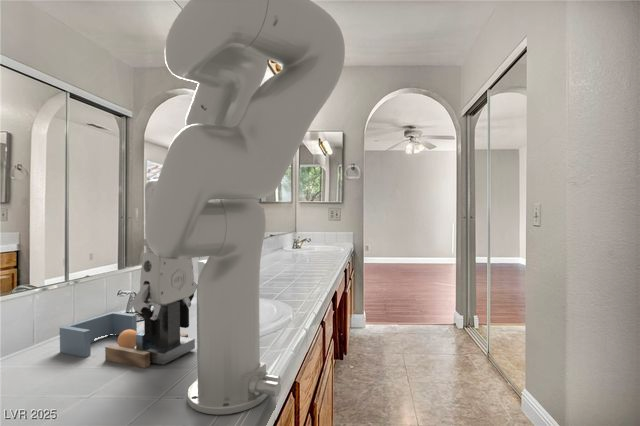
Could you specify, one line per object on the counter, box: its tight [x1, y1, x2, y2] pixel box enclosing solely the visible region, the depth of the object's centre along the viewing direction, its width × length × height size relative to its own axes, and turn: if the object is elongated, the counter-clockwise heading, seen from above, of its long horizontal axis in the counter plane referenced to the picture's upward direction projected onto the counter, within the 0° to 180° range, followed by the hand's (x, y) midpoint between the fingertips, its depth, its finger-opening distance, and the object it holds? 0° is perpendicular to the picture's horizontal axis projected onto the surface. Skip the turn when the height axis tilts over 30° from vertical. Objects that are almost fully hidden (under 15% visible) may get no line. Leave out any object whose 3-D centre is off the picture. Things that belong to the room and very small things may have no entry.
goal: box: [59, 311, 138, 358], centre depth 81 cm, size 7×12×5 cm, turn 158°
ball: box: [116, 329, 139, 349], centre depth 78 cm, size 4×4×4 cm
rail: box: [104, 332, 189, 369], centre depth 76 cm, size 10×11×2 cm
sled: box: [135, 302, 196, 365], centre depth 74 cm, size 8×8×10 cm
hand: (167, 332), depth 74 cm, fingers open, 7 cm apart
